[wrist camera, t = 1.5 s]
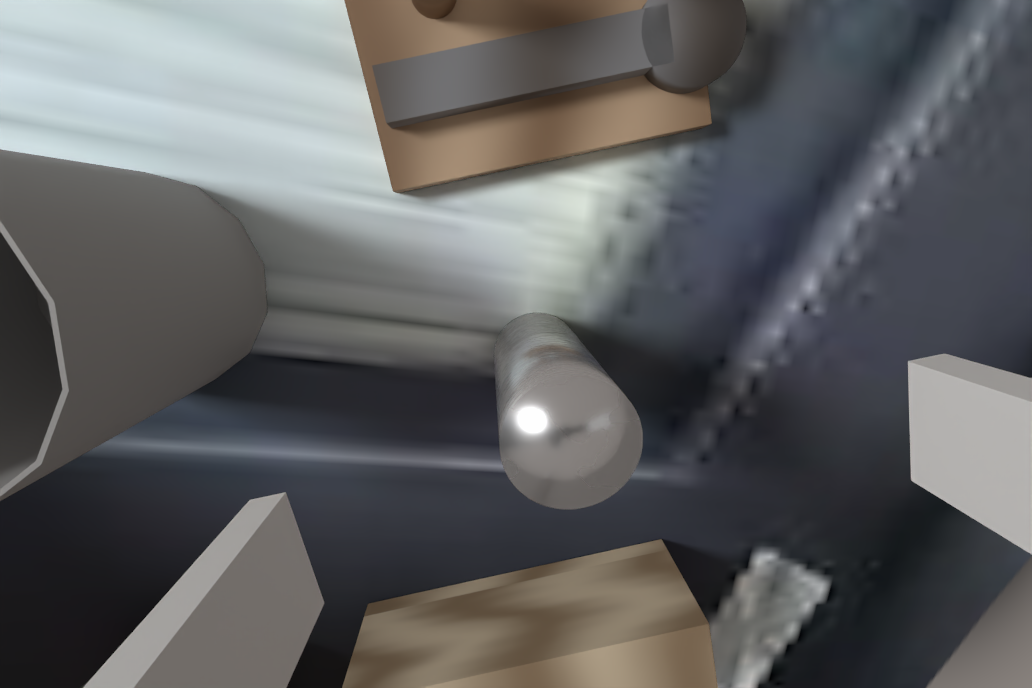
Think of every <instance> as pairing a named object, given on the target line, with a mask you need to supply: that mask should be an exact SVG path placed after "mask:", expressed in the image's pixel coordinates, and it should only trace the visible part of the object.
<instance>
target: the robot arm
mask: <svg viewBox="0 0 1032 688" xmlns="http://www.w3.org/2000/svg"><path fill="white" fill-rule="evenodd" d="M908 381H909V420H910V458H911V481H913V482H914V483H916V484H918V485H919V486H921V487H923V488H924V489H926V490H927V491H929V492H931V493H932V494H934V495H936V496H937V497H939V498H940V499H942V500H944V501H945V502H947V503H949V504H950V505H952V506H954V507H955V508H957V509H958V510H960V511H962V512H963V513H965V514H967V515H968V516H970V517H971V518H973V519H975V520H976V521H978V522H980V523H981V524H983V525H984V526H986V527H988V528H989V529H991V530H993V531H994V532H996V533H998V534H999V535H1001V536H1002V537H1004V538H1006V539H1007V540H1009V541H1011V542H1012V543H1014V544H1015V545H1017V546H1019V547H1020V548H1022V549H1024V550H1025V551H1027V552H1029V553H1030V554H1032V378H1028V377H1025V376H1021V375H1018V374H1014V373H1011V372H1007V371H1004V370H1000V369H997V368H993V367H990V366H986V365H983V364H979V363H976V362H972V361H969V360H965V359H962V358H958V357H955V356H951V355H948V354H940V355H936V356H931V357H926V358H921V359H917V360H912V361H908ZM323 605H324V601H323V598H322V595H321V592H320V589H319V586H318V583H317V580H316V578H315V575H314V572H313V569H312V566H311V563H310V560H309V557H308V555H307V552H306V549H305V546H304V543H303V540H302V537H301V535H300V532H299V529H298V526H297V523H296V520H295V517H294V514H293V512H292V509H291V506H290V503H289V500H288V497H287V494H286V492H285V493H280V494H275V495H271V496H266V497H261V498H256V499H252V500H249V501H248V502H247V504H246V505H245V506H244V507H243V508H242V509H241V510H240V511H239V513H238V514H237V515H236V516H235V517H234V518H233V519H232V520H231V522H230V523H229V524H228V525H227V526H226V527H225V528H224V529H223V531H222V532H221V533H220V534H219V535H218V536H217V537H216V538H215V540H214V541H213V542H212V543H211V544H210V545H209V546H208V548H207V549H206V550H205V551H204V552H203V553H202V554H201V555H200V557H199V558H198V559H197V560H196V561H195V562H194V563H193V564H192V566H191V567H190V568H189V569H188V570H187V571H186V572H185V573H184V575H183V576H182V577H181V578H180V579H179V580H178V581H177V582H176V584H175V585H174V586H173V587H172V588H171V589H170V590H169V591H168V593H167V594H166V595H165V596H164V597H163V598H162V599H161V600H160V602H159V603H158V604H157V605H156V606H155V607H154V608H153V609H152V611H151V612H150V613H149V614H148V615H147V616H146V617H145V618H144V620H143V621H142V622H141V623H140V624H139V625H138V626H137V627H136V629H135V630H134V631H133V632H132V633H131V634H130V635H129V636H128V638H127V639H126V640H125V641H124V642H123V643H122V644H121V645H120V647H119V648H118V649H117V650H116V651H115V652H114V653H113V654H112V656H111V657H110V658H109V659H108V660H107V661H106V662H105V663H104V665H103V666H102V667H101V668H100V669H99V670H98V671H97V672H96V674H95V675H94V676H93V677H92V678H91V679H90V680H88V681H87V682H86V683H84V684H83V685H82V686H81V687H80V688H286V687H287V685H288V683H289V681H290V679H291V676H292V674H293V672H294V670H295V667H296V665H297V663H298V661H299V659H300V656H301V654H302V652H303V650H304V647H305V645H306V643H307V641H308V638H309V636H310V634H311V632H312V630H313V627H314V625H315V623H316V621H317V618H318V616H319V614H320V612H321V610H322V607H323Z"/></svg>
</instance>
